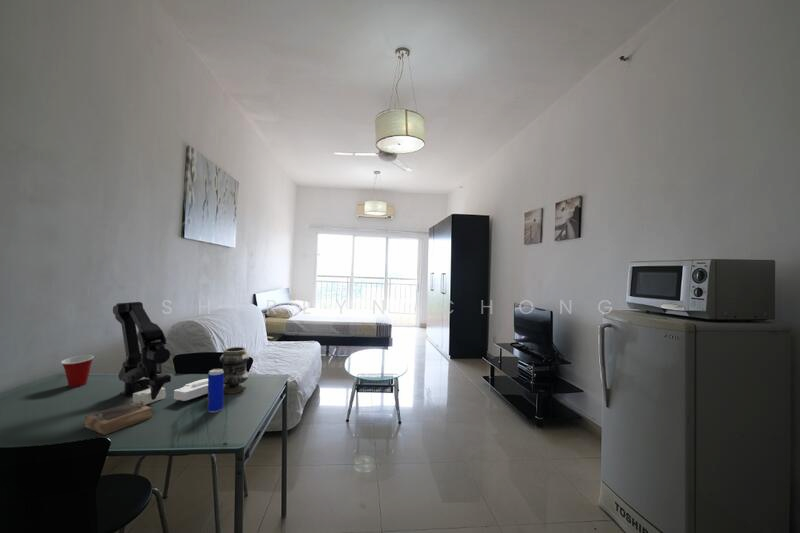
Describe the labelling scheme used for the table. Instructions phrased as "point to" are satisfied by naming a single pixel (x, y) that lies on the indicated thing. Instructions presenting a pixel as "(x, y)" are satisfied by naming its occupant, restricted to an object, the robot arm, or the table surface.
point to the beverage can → (215, 390)
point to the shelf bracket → (192, 390)
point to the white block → (148, 396)
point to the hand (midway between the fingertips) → (149, 398)
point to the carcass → (118, 417)
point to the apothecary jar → (234, 369)
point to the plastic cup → (77, 369)
